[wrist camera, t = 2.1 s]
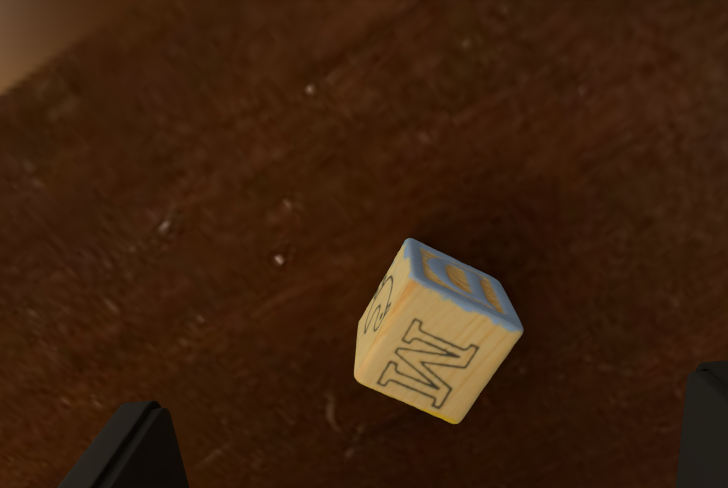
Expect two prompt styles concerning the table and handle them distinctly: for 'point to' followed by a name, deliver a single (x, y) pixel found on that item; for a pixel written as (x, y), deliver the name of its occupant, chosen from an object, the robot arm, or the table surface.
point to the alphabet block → (434, 332)
